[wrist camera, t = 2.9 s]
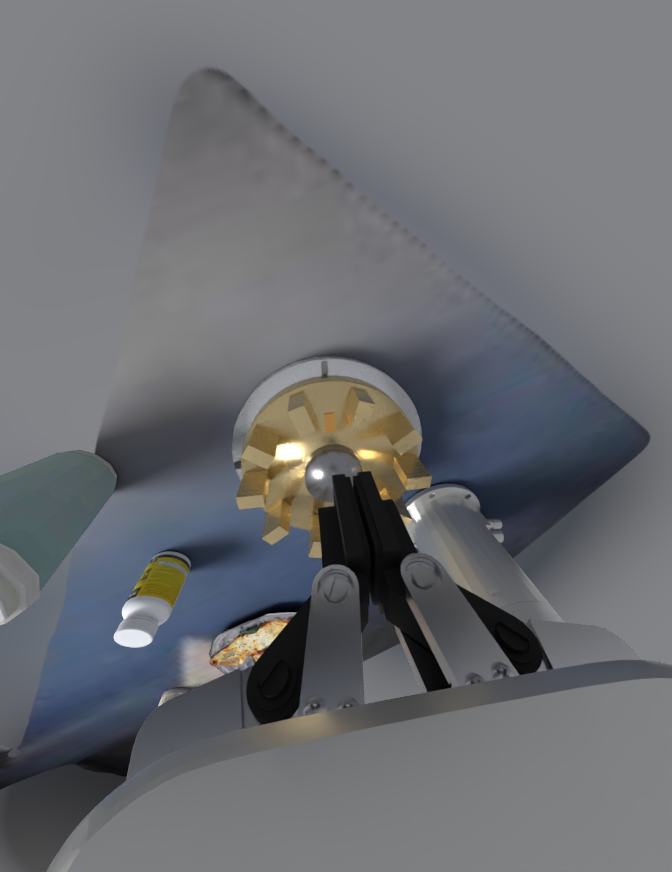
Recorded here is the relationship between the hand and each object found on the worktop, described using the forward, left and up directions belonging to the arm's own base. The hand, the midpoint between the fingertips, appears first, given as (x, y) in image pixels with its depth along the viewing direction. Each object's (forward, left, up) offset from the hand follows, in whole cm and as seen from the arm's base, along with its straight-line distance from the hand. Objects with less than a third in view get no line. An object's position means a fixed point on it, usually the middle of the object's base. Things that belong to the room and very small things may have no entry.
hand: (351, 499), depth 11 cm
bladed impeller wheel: (-2, +8, -17) cm, 19 cm away
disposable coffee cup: (+26, +13, -19) cm, 35 cm away
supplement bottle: (+19, +29, -19) cm, 40 cm away
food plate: (+3, +53, -19) cm, 57 cm away
